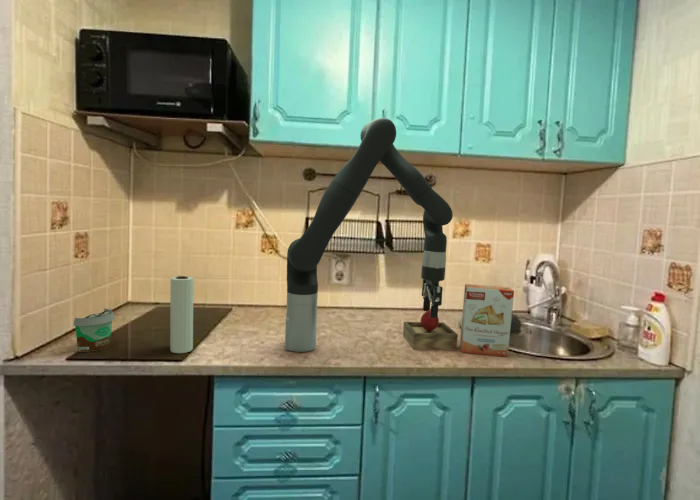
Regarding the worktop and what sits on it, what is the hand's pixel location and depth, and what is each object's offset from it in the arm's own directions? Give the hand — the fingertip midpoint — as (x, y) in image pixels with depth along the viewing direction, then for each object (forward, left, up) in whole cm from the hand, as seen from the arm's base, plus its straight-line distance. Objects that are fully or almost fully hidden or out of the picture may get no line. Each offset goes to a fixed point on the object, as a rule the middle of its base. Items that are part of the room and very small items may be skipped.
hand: (429, 314), depth 141 cm
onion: (0, 0, -6) cm, 6 cm away
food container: (-99, -8, -10) cm, 100 cm away
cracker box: (+15, -9, -10) cm, 20 cm away
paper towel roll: (-76, -9, -10) cm, 77 cm away
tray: (0, 0, -10) cm, 10 cm away
